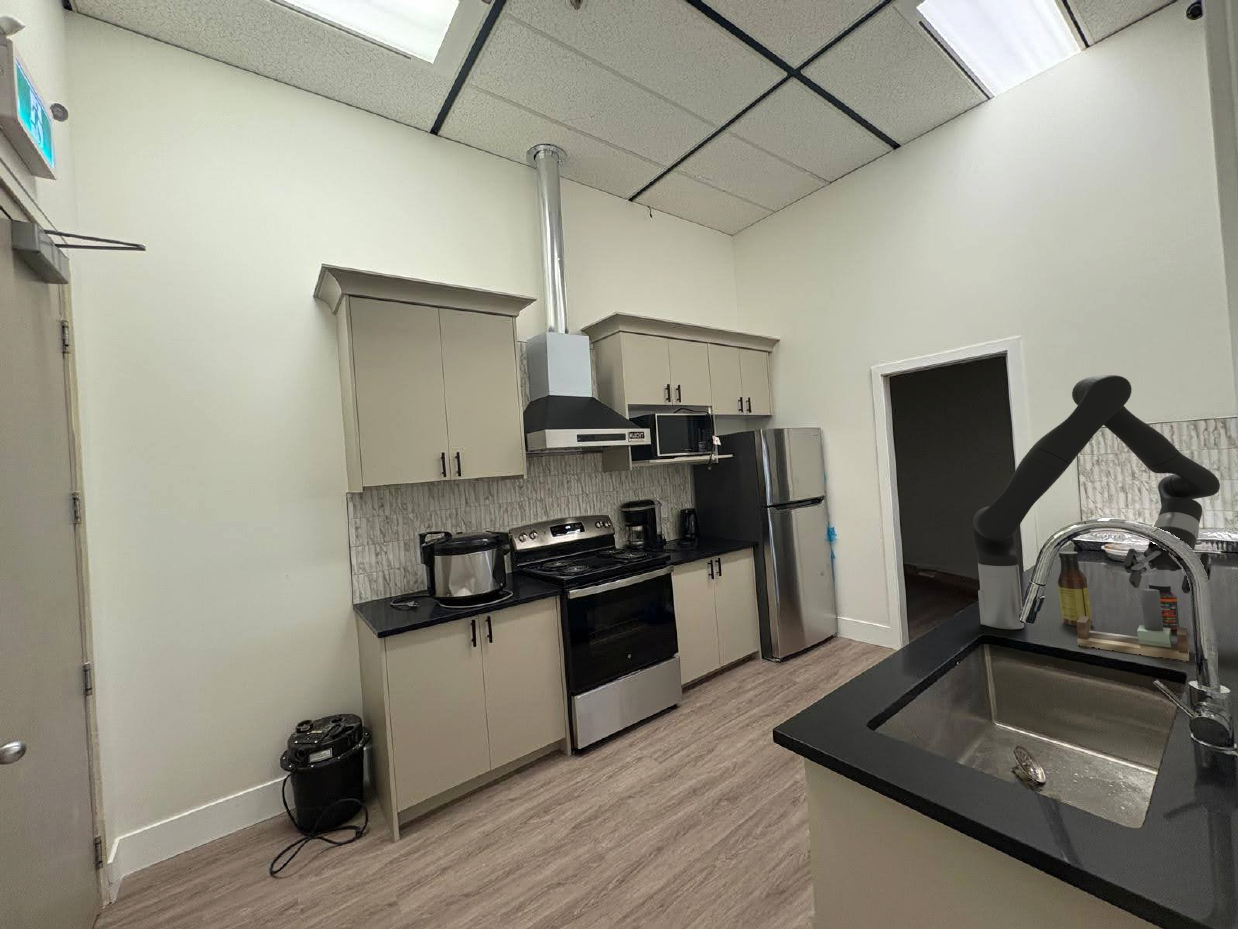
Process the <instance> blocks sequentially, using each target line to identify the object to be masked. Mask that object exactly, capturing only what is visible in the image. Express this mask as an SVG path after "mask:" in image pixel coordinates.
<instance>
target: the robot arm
mask: <svg viewBox="0 0 1238 929" xmlns="http://www.w3.org/2000/svg"><path fill="white" fill-rule="evenodd" d="M1132 390H1133V389H1132V385H1131V382H1130V381H1129V380H1128V379H1127V378H1126V377H1123V376H1121V375H1117V374H1116V375H1115V374H1106V375H1104V374H1103V375H1094V376H1090V377H1089V376H1088V377H1085V378H1083V379H1081V380H1079V381H1078V382H1077V383H1076V384H1075V385H1074V386H1073V388H1072V391H1071V397H1072V400H1073V402H1074V403H1075V404H1076V405H1077V406H1076V407H1075V409H1074V410H1072V413H1070V415H1069V416H1068V417H1067V418H1065V419H1064V420H1063V421H1062V422H1061V423H1060V424H1058V425H1057V426H1056V427H1054V428H1053V429H1051V430H1050V431H1049V432H1047V433H1046V434H1045V435H1043V436H1042V437H1040V439H1038V440H1037V441H1036V442H1035V443H1034V444H1033V445H1032V447H1031V448H1030V449H1029V451H1028V452H1026V454H1025V455H1024V457H1023V458H1021V461H1020V462H1019V463H1018V466H1017V467H1016V469H1015V471H1014V473H1013V474H1012V476H1011V479H1010V481H1009V483H1008V485H1007V486H1006V487H1005V489H1004V490H1003V492H1001V494H1000V495H999V496H998V497H997V498H996V499H995V500H994V501H993V502H992V503H990V505H989V506H985V507H982V508H981V509H978V510H977V511H976V512H975V513H974V516H973V518H972V529H973V538H974V547H975V553H976V558H977V568H978V579H979V588H980V589H979V590H978V591H977V594H978V595H977V596H978V597H977V598H978V609H979V619H980V624H981V625H983V626H987V627H990V628H996V629H1002V630H1020V629H1023V628H1025V623H1021V622H1020V619H1019V615H1020V611H1021V609H1023V600H1022V591H1021V578H1020V569H1019V557H1018V556H1019V555H1018V554H1017V550H1016V546H1015V540H1014V539H1015V538H1014V534H1015V533H1016V532H1017V530H1018V528H1019V526H1020V525H1021V524H1022V522H1023V520H1024V519H1025V517H1026V516H1027V514H1028V513H1029V511H1030V509H1032V507H1033V506H1034V505H1035V504H1036V503H1037V501H1038V500H1039V499H1041V497H1042V496H1044V494H1045V493H1046V492H1048V490H1049V489H1050V488H1051V487H1052V486H1053V485H1054V484H1055V483H1056V481H1057V480H1058V479H1059V478H1060V477H1061V476H1062V475H1063V474H1064V473H1065V472H1066V470H1067V469H1068V468H1069V467H1070V465H1071V464H1072V463H1073V462H1074V460H1075V459H1076V457H1077V456H1078V455H1080V453H1081V452H1082V450H1083V449H1084V448H1085V447H1086V446H1087V444H1088V443H1089V442H1090V441H1091V440H1092V439H1093V437H1094V436H1095V435H1096V434H1097V432H1098V431H1099V430H1100V429H1101V428H1102V427H1103V426H1104V427H1106V428H1107V429H1108V430H1109V431H1110V432H1111V433H1112V434H1113V435H1115V436H1116V438H1118V439H1119V440H1120V441H1121V442H1123V444H1124V445H1125V447H1127V448H1128V449H1130V451H1131V452H1132V453H1133V454H1134V455H1135V456H1136V457H1137V458H1138V460H1140V461H1141V463H1142V464H1144V466H1145V467H1146V468H1147V469H1148V470H1150V471H1151V472H1152V473H1154V474H1171V475H1167V476H1165V477H1163V478H1162V479H1161V480H1160V481H1159V483H1158V485H1157V490H1158V494H1159V499H1160V509H1159V514H1158V516H1157V519H1156V521H1155V522H1154V525H1153V528H1154V527H1157V528H1160V529H1162V530H1164V531H1168V532H1170V533H1171V534H1174V535H1175V536H1176V537H1178V538H1180V540H1182V541H1184V542H1185V543H1187V544H1188V545H1189V546H1190V547H1191V548H1192V549H1193V550H1194V551H1195V548H1196V543H1197V540H1198V539H1199V533H1200V531H1199V530H1200V523H1201V522H1200V521H1201V520H1202V515H1203V507H1202V505H1201V503H1199V502H1198V501H1197V500H1196V499H1202V498H1207V497H1211V496H1214V495H1216V494H1217V493H1218V492H1219V490H1221V483H1220V481H1219V478H1218V477H1217V476H1216V475H1215V473H1213V471H1211V470H1210V469H1208V468H1206V467H1204V466H1203V465H1201V464H1199V463H1198V462H1196V461H1194V460H1193V459H1191V458H1190V457H1187V456H1185V455H1184V454H1182V452H1180V451H1179V450H1178V448H1177V447H1176V446H1175V445H1174V444H1172V442H1171V441H1170V440H1169V439H1168V438H1167V437H1166V436H1165V435H1163V434H1162V433H1161V432H1160V431H1158V430H1156V429H1155V428H1154V427H1153V426H1151V425H1149V424H1147V423H1146V422H1145V421H1143V420H1141V419H1140V418H1138V417H1137V416H1136V415H1134V414H1133V413H1132V412H1131V411H1130V410H1129V409H1128V408H1127V407H1126V406H1125V405H1126V404H1127V403H1128V401H1129V399H1130V398H1131V395H1132ZM1196 555H1197V557H1198V558H1199V559H1200V560H1201V562H1202V564H1203V565H1204V569H1205V571H1206V573H1207V576H1208V580H1207V581H1209V580H1210V579H1211V572H1212V565H1213V564H1212V563H1213V560H1212V559H1211V557H1210V555H1209V554H1208V553H1207V552H1202V553H1201V554H1199V555H1198V554H1196ZM1142 558H1143V559H1142ZM1138 561H1139V562H1138ZM1137 562H1138V563H1137ZM1122 567H1123V569H1124V571H1125V572H1126V573H1127V574H1130V576H1129V578H1128V581H1129V583H1130V585H1131V586H1132V587H1133V588H1134V589H1135V588H1136V589H1139V587H1140V585H1141V581H1142V578H1143V575H1145V574H1146V573H1151V572H1153V571H1155V570H1158V571H1170V572H1177V571H1181V573H1183V579H1182V584H1181V590H1182V593H1183V594H1187V595H1189V594H1190V587H1189V583H1188V580H1187V576H1186V575H1185V573H1184V570H1183V568H1182V567H1181V566H1180V564H1179V562H1178V561H1177V559H1176V558H1174V556H1173V555H1171V554H1170V552H1168V551H1165V550H1163V549H1162V548H1159V547H1158V546H1157V545H1156V544H1153V543H1152V542H1150V540H1149V541H1148V544H1147V549H1146V550H1145V551H1144V550H1143V551H1138V550H1136V549H1135V548H1132V547H1131V548H1130V549H1128V551H1127V553H1126V556H1125V558H1124V561H1123V562H1122Z"/></svg>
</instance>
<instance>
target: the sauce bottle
mask: <svg viewBox="0 0 1238 929" xmlns="http://www.w3.org/2000/svg"><path fill="white" fill-rule="evenodd" d="M1058 558H1059V560H1060V571H1059V572H1060V573H1059V575H1058V579H1057V587H1058V589H1057V590H1058V595H1059V596H1058V597H1059V601H1060V602H1059V605H1060V611H1061V617H1062V620H1063V623H1064V624H1066V625H1069V626H1073V627H1077V621H1078V619H1079V618H1080V617H1081V616H1086V617H1090V624H1091V626H1092V625H1093V621H1092V620H1093V615H1092V606H1091V600H1090V593H1089V586H1088V584H1087V583H1088V582H1087V577H1086V576H1085V574H1084V573H1083V571H1081V569H1080V565H1079V553H1078V552H1077V551H1067V550H1065V551H1059V552H1058Z"/></svg>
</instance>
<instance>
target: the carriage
mask: <svg viewBox="0 0 1238 929" xmlns="http://www.w3.org/2000/svg"><path fill="white" fill-rule="evenodd" d="M1140 594H1141V596H1140V597H1141V606H1142V617H1143V624H1139V625H1138V628H1137V630H1136V631H1137V637H1138V639H1139V643H1140V644H1148V645H1155V646H1162V647H1170V648H1171V641H1172V630H1171V628H1163V622H1162V613H1161V603H1160V594H1159V590H1155V589H1149V588H1141V589H1140Z"/></svg>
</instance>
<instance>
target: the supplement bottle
mask: <svg viewBox="0 0 1238 929" xmlns="http://www.w3.org/2000/svg"><path fill="white" fill-rule="evenodd" d="M1148 589H1155V590H1159V594H1160V603H1161V613H1162V622H1163V628H1171V631H1177V630H1178V627H1181V626H1180V617H1179V616H1180V615H1179V614H1180V613H1179V604H1178V603H1179V602H1178V597H1177V595H1176V594H1175V593H1173V592H1172V586H1171V585H1170V584H1166V583H1160V582H1159V583H1157V582H1155V583H1154V582H1153V583H1150V582H1149V583H1148Z"/></svg>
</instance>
